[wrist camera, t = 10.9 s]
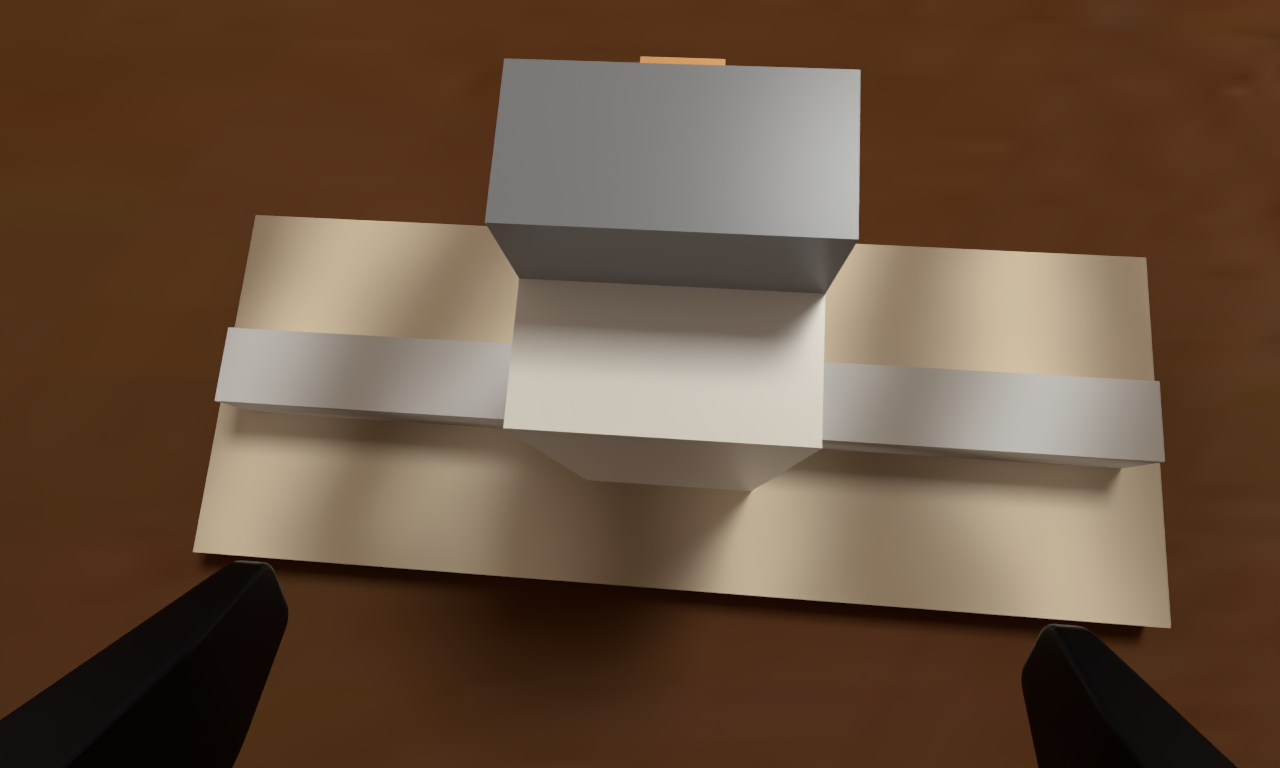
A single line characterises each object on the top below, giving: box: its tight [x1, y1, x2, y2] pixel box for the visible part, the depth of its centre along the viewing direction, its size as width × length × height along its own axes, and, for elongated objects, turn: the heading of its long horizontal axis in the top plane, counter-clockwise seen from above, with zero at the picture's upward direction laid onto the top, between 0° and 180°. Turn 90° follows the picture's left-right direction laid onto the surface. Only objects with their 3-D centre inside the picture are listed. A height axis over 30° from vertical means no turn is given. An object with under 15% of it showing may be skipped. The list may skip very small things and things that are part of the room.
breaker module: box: [485, 57, 860, 491], centre depth 15 cm, size 4×5×12 cm
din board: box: [193, 215, 1171, 628], centre depth 20 cm, size 26×10×3 cm, turn 86°
